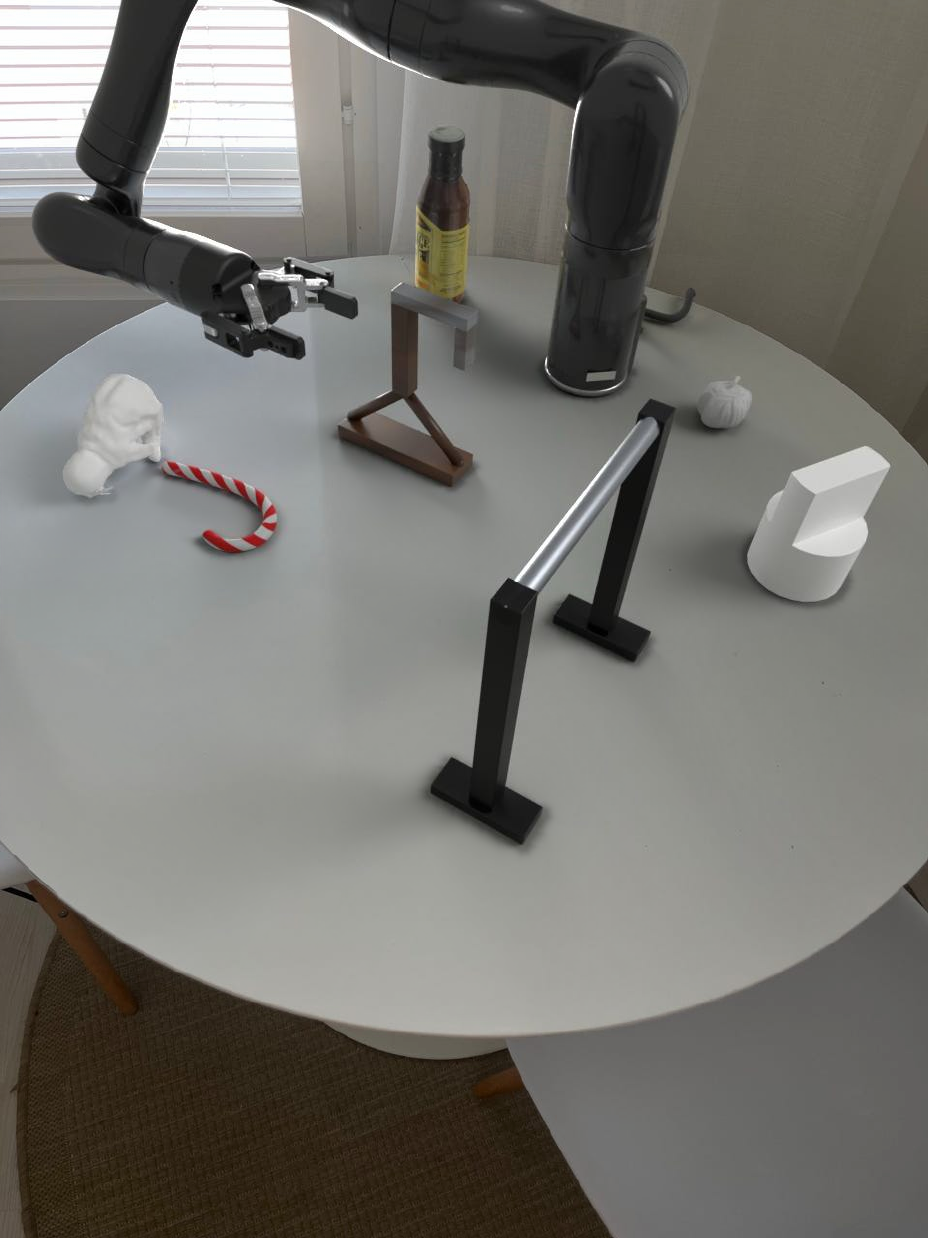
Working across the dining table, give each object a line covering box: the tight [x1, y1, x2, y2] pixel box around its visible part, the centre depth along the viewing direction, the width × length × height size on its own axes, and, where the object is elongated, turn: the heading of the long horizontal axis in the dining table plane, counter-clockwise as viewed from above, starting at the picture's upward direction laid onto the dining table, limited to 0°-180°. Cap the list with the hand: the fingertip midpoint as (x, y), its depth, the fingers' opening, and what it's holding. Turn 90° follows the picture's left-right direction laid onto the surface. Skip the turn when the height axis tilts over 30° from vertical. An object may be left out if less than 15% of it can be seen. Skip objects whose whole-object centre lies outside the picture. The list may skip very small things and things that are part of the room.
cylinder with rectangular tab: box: [746, 445, 891, 603], centre depth 81 cm, size 9×9×12 cm
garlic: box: [696, 375, 753, 429], centre depth 98 cm, size 6×5×5 cm
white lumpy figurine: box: [62, 373, 165, 499], centre depth 87 cm, size 6×8×12 cm
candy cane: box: [161, 460, 278, 553], centre depth 87 cm, size 8×1×15 cm
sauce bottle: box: [414, 124, 471, 304], centre depth 105 cm, size 6×6×20 cm
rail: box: [430, 398, 677, 846], centre depth 65 cm, size 23×8×24 cm, turn 149°
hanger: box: [337, 282, 479, 487], centre depth 87 cm, size 14×4×18 cm, turn 59°
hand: (330, 328), depth 88 cm, fingers open, 8 cm apart
